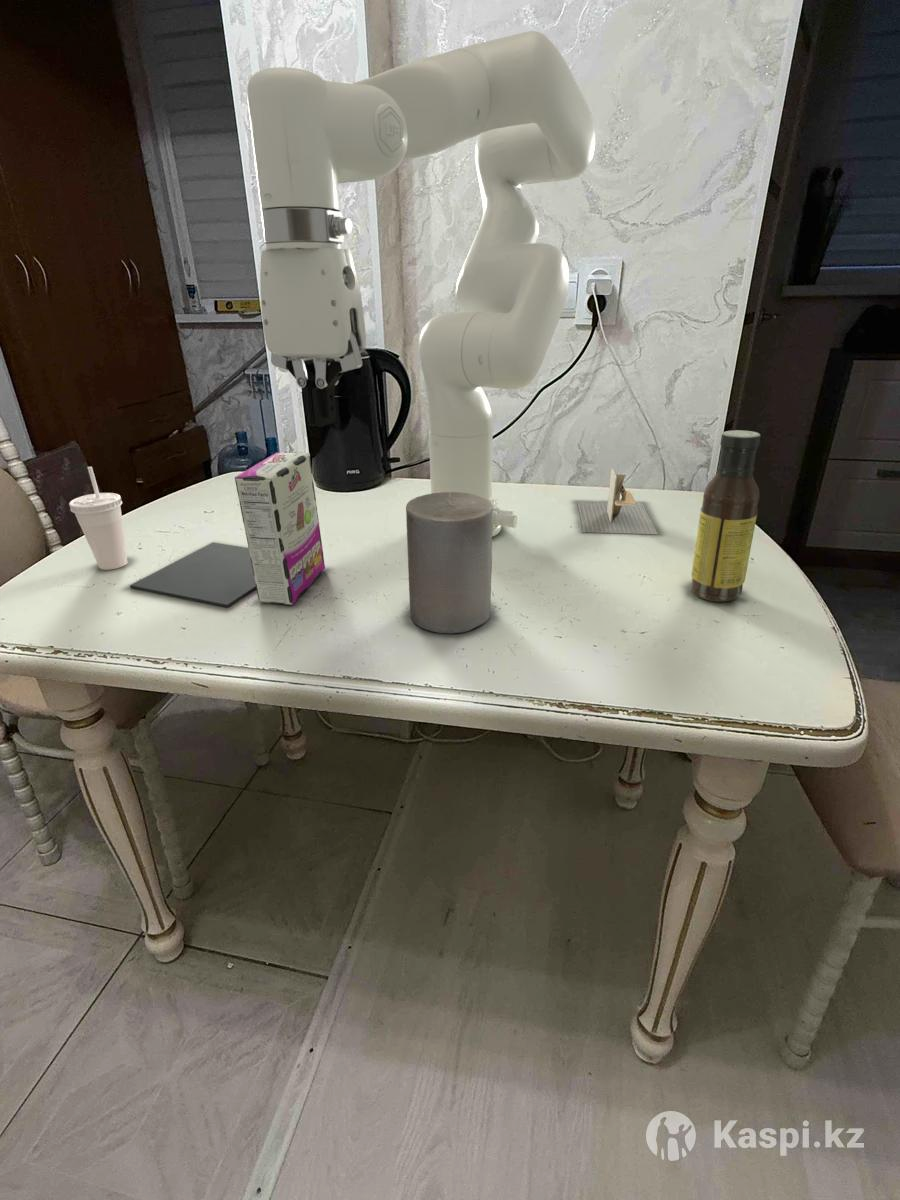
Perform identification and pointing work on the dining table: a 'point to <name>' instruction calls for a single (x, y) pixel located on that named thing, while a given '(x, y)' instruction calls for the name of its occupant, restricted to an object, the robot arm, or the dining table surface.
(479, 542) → the pillar candle
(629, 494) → the architectural model
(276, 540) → the candy bar box
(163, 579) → the mat
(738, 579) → the sauce bottle
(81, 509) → the smoothie
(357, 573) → the dining table surface
